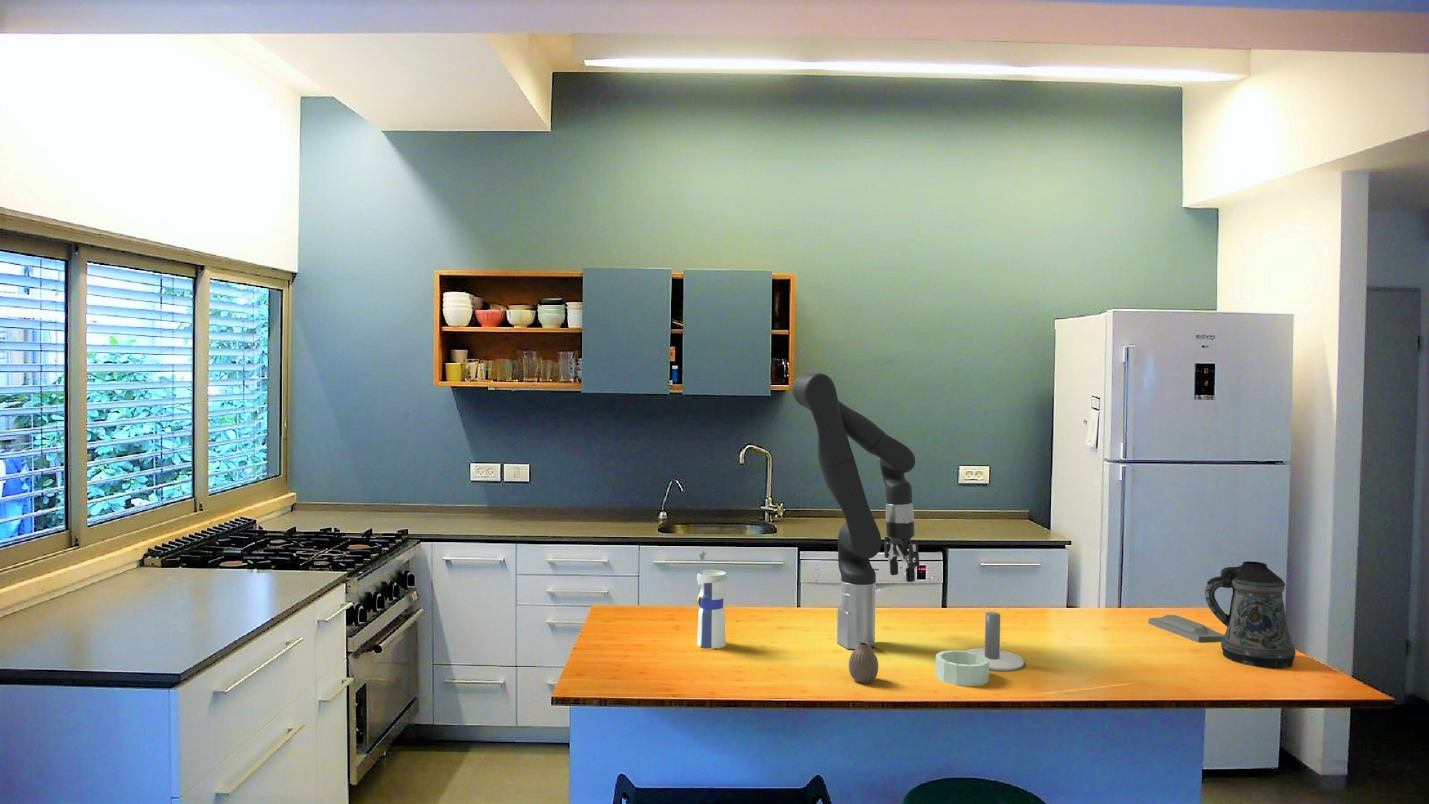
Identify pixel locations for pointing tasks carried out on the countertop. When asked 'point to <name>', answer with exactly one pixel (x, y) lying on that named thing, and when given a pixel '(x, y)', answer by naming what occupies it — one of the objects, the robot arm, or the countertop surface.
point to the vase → (863, 664)
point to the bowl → (962, 668)
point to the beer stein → (1253, 616)
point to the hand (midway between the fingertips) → (902, 578)
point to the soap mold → (1186, 628)
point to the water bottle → (711, 608)
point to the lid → (997, 647)
